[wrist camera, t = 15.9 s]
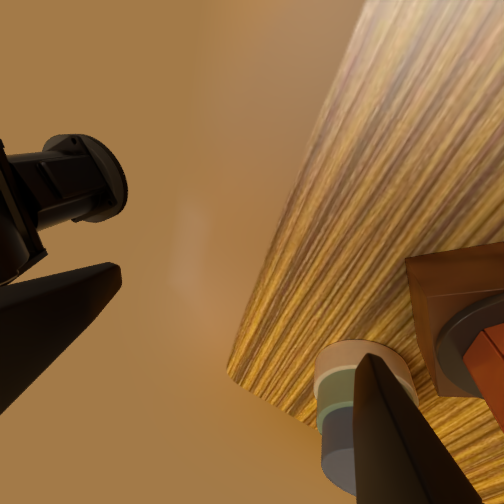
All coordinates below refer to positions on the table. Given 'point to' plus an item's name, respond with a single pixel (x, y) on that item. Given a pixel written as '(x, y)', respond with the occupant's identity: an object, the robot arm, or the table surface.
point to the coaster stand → (455, 309)
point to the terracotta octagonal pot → (489, 368)
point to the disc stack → (346, 402)
